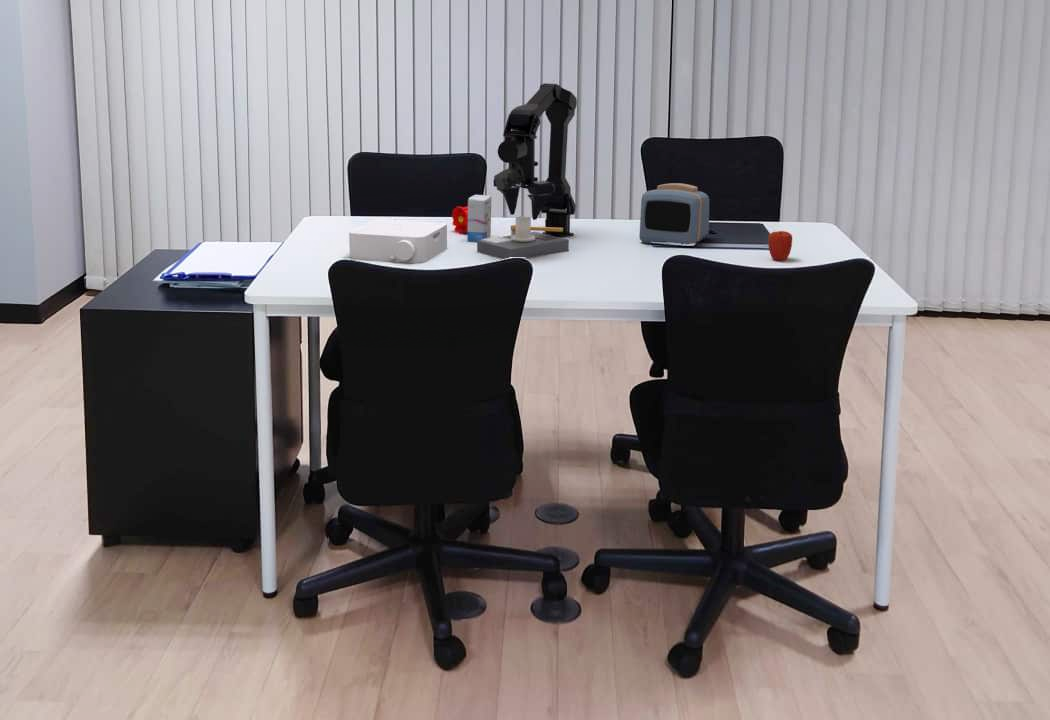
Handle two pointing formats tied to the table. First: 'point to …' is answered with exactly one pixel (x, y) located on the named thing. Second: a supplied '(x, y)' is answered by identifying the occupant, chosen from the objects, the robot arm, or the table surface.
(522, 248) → the grey flat block
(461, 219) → the flower
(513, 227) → the orange matchstick
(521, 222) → the plug
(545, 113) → the robot arm
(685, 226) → the retro portable television
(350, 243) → the projector
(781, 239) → the red rounded lump
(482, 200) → the ink box
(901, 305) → the table surface
